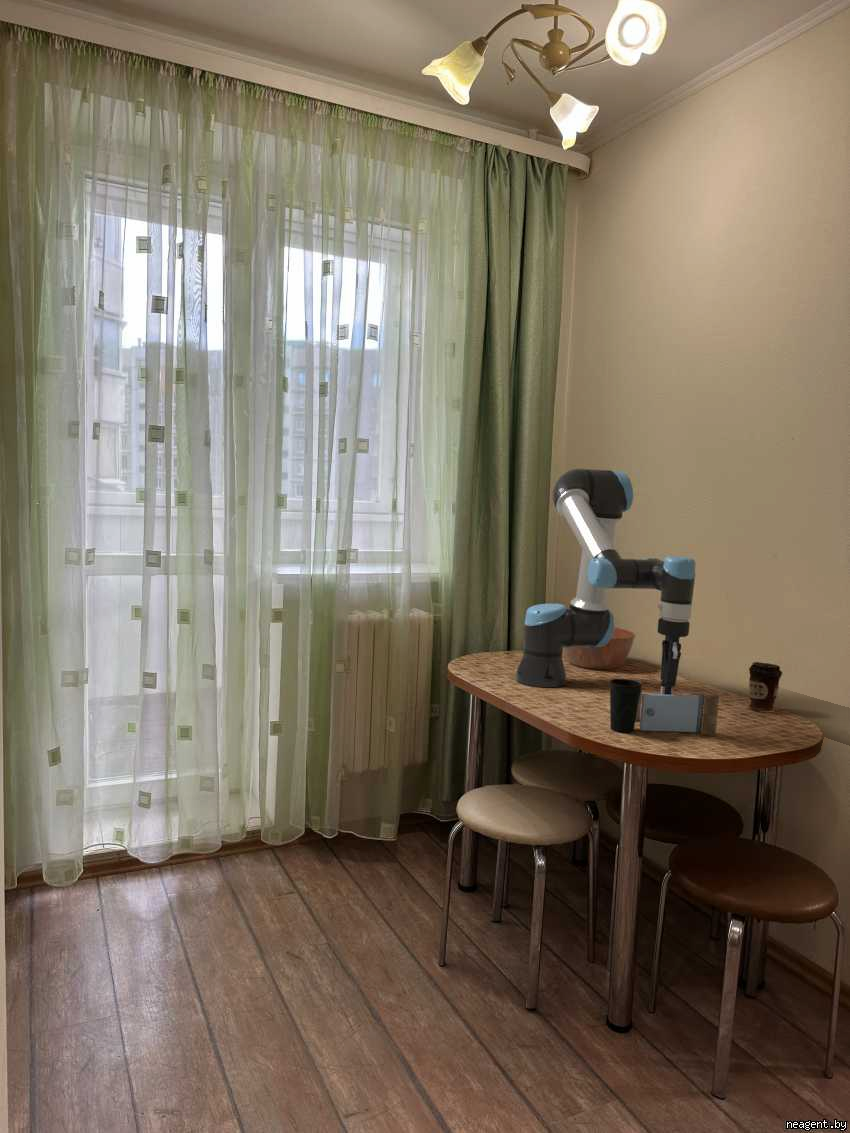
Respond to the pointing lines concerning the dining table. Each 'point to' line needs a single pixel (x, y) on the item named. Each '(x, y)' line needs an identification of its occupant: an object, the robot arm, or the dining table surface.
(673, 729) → the door
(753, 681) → the coffee cup
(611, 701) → the cup
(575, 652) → the bowl
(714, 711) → the door frame
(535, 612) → the robot arm
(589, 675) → the dining table surface
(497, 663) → the dining table surface
